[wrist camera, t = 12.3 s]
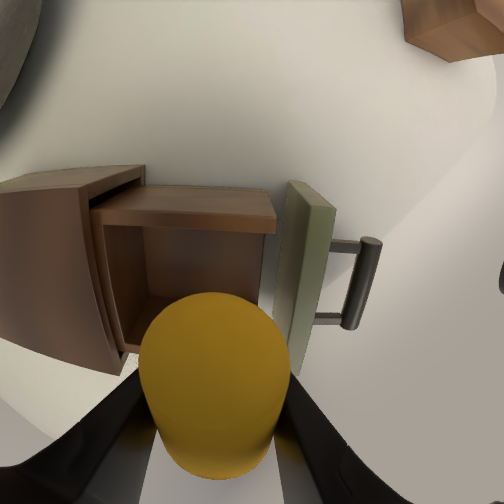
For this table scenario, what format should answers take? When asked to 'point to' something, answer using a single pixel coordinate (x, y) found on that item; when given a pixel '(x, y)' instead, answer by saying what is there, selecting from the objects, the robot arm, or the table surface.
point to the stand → (455, 27)
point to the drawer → (221, 256)
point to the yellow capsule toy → (214, 382)
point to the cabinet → (58, 264)
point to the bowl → (15, 39)
